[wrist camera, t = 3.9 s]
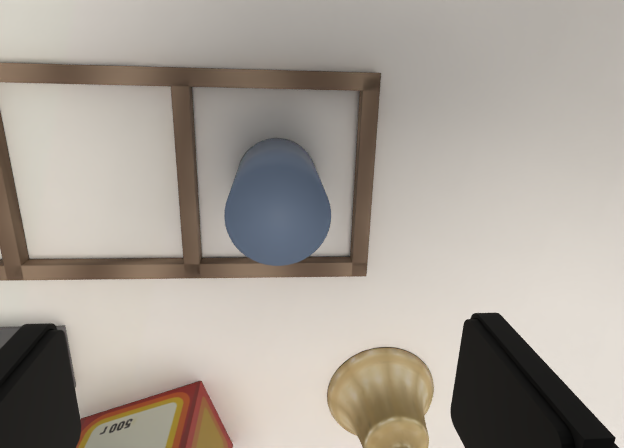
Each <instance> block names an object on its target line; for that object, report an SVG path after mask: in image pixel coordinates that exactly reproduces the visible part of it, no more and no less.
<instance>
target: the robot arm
mask: <svg viewBox="0 0 624 448" xmlns="http://www.w3.org/2000/svg"><path fill="white" fill-rule="evenodd" d="M451 419H452V422H453V425H454V427H455V429H456V431H457V433H458V435H459V437H460V439H461V441H462V443H463V444H464V446H465V448H619V447H618V446H617V445H616V444H615V443H614V441H615V437H614V436H613V435H612V434H611V433H610V431H609V430H608V429H607V428H606V427H605V426H604V425H603V424H602V423H601V422H600V421H599V420H598V419H597V418H596V416H595V415H594V414H593V413H592V412H591V411H590V410H589V409H588V408H587V407H586V406H585V405H584V404H583V403H582V401H581V400H580V399H579V398H578V397H577V396H576V395H575V394H574V393H573V392H572V391H571V390H570V389H569V388H568V387H567V385H566V384H565V383H564V382H563V381H562V380H561V379H560V378H559V377H558V376H557V375H556V374H555V373H554V372H553V370H552V369H551V368H550V367H549V366H548V365H547V364H546V363H545V362H544V361H543V360H542V359H541V358H540V357H539V355H538V354H537V353H536V352H535V351H534V350H533V349H532V348H531V347H530V346H529V345H528V344H527V343H526V342H525V340H524V339H523V338H522V337H521V336H520V335H519V334H518V333H517V332H516V331H515V330H514V329H513V328H512V327H511V326H510V324H509V323H508V322H507V321H506V320H505V319H504V318H503V317H502V316H501V315H500V314H499V313H474V314H473V315H472V316H471V319H467V320H466V321H465V322H464V326H463V332H462V339H461V345H460V352H459V358H458V365H457V371H456V377H455V384H454V390H453V397H452V403H451ZM80 435H81V421H80V415H79V410H78V404H77V398H76V393H75V387H74V381H73V375H72V370H71V364H70V358H69V353H68V347H67V341H66V336H65V333H64V331H63V330H57V327H56V326H55V325H54V324H52V323H51V324H25V325H23V326H22V327H21V328H20V329H19V330H18V331H17V332H16V333H15V334H14V335H13V336H12V337H11V338H10V339H9V340H8V341H7V342H6V343H5V344H4V345H3V346H2V347H1V349H0V448H76V446H77V444H78V442H79V439H80Z"/></svg>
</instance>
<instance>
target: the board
mask: <svg viewBox="0 0 624 448" xmlns="http://www.w3.org/2000/svg"><path fill="white" fill-rule="evenodd" d="M380 80H381V73H362V72H325V71H288V70H251V69H214V68H176V67H139V66H102V65H65V64H28V63H0V82H14V83H57V84H99V85H142V86H171V96H172V109H173V123H174V137H175V150H176V164H177V178H178V191H179V205H180V219H181V232H182V246H183V258H135V259H29V256H28V251H27V246H26V241H25V236H24V231H23V226H22V220H21V215H20V210H19V205H18V200H17V195H16V190H15V185H14V180H13V174H12V169H11V164H10V159H9V154H8V149H7V144H6V139H5V133H4V128H3V123H2V118H1V113H0V249H1V254H2V258H3V260H0V280H83V279H170V278H256V277H343V276H366V274H367V260H368V246H369V232H370V218H371V205H372V191H373V177H374V163H375V149H376V136H377V122H378V108H379V94H380ZM192 87H227V88H269V89H312V90H354V91H360V96H359V113H358V130H357V147H356V164H355V181H354V198H353V216H352V233H351V250H350V257H307V258H305V259H304V260H301V261H299V262H297V263H294V264H290V265H284V266H271V265H265V264H262V263H259V262H256V261H254V260H252V259H250V258H202V251H201V234H200V216H199V199H198V182H197V165H196V148H195V131H194V114H193V97H192Z"/></svg>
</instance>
